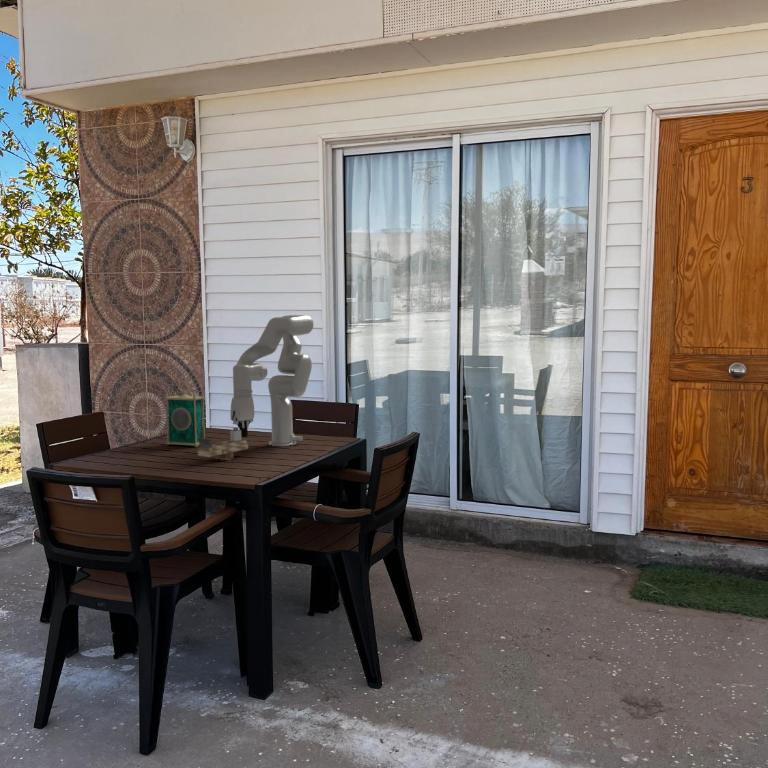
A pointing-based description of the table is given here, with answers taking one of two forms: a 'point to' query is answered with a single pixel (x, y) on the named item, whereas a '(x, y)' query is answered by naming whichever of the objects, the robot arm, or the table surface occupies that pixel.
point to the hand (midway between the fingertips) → (243, 436)
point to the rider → (235, 435)
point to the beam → (220, 448)
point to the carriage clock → (185, 418)
